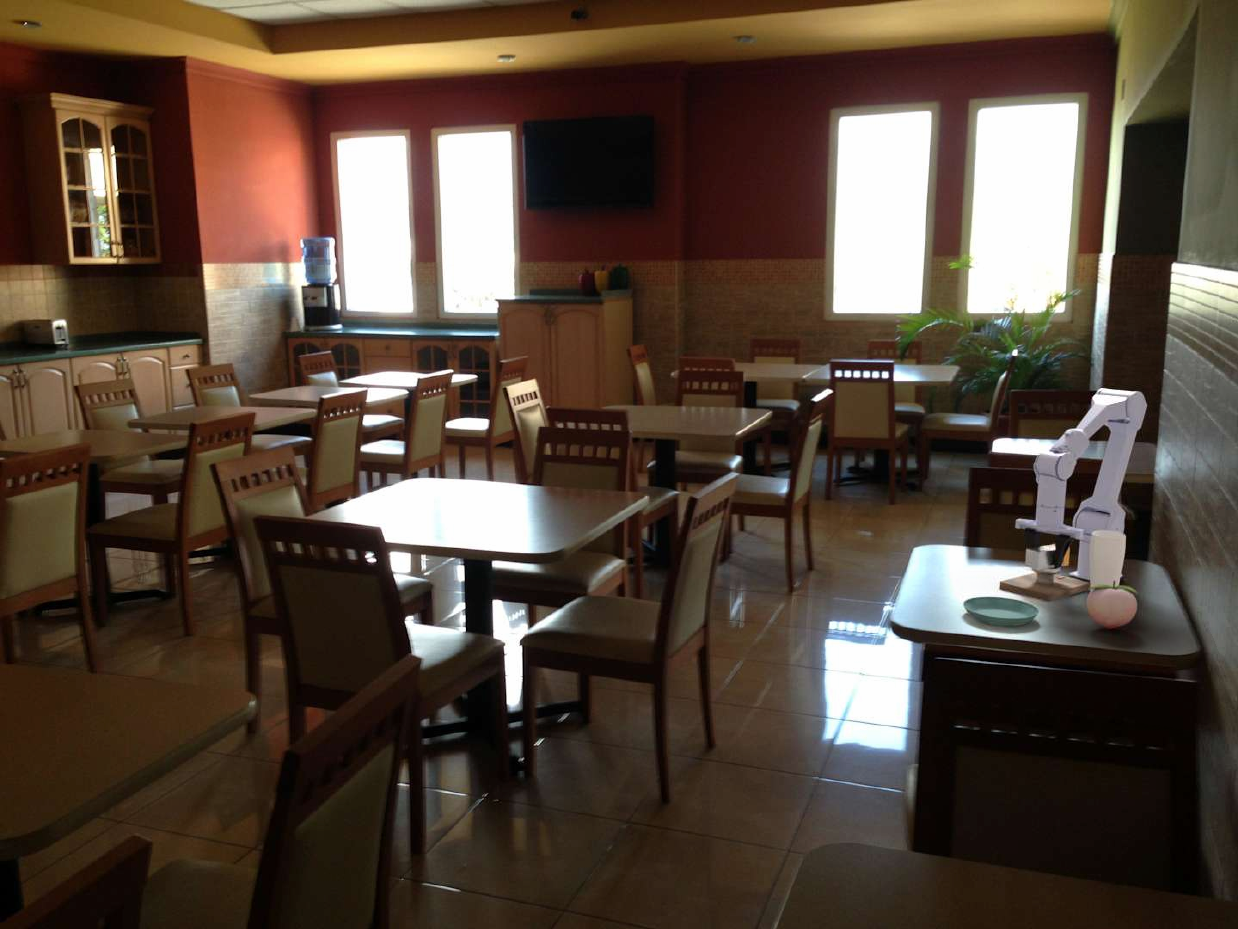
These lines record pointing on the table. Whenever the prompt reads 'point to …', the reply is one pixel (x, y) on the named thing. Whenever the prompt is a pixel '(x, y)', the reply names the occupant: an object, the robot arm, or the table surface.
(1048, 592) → the mount plate
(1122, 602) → the decorative fruit
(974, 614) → the saucer
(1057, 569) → the grey and orange block
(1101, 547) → the drinking glass
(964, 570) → the table surface
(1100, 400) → the robot arm
